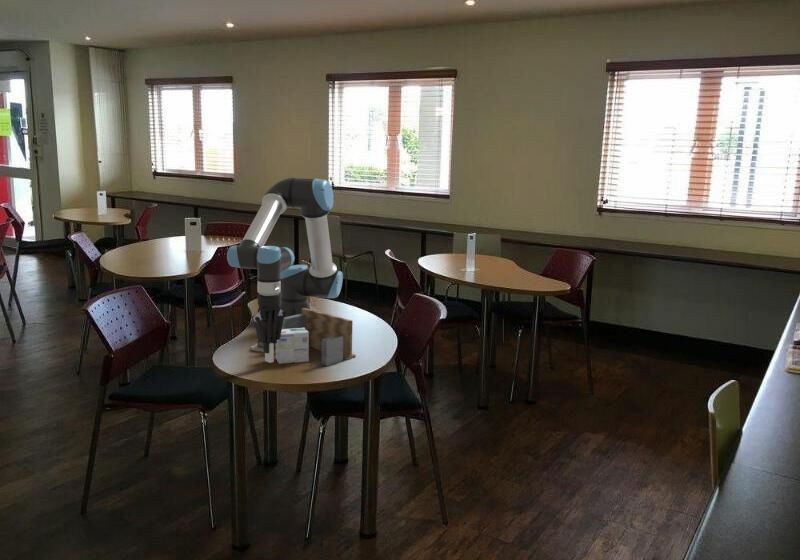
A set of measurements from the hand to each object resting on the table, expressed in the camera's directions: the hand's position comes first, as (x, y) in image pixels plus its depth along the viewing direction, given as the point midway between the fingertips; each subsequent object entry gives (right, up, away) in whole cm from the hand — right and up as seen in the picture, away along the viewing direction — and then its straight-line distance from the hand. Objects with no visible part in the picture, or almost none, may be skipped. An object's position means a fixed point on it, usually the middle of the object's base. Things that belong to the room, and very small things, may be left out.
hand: (269, 361), depth 222 cm
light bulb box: (+6, -1, +8) cm, 10 cm away
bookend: (+21, -1, +7) cm, 22 cm away
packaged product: (-3, +2, +24) cm, 25 cm away
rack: (+14, +1, +16) cm, 22 cm away
